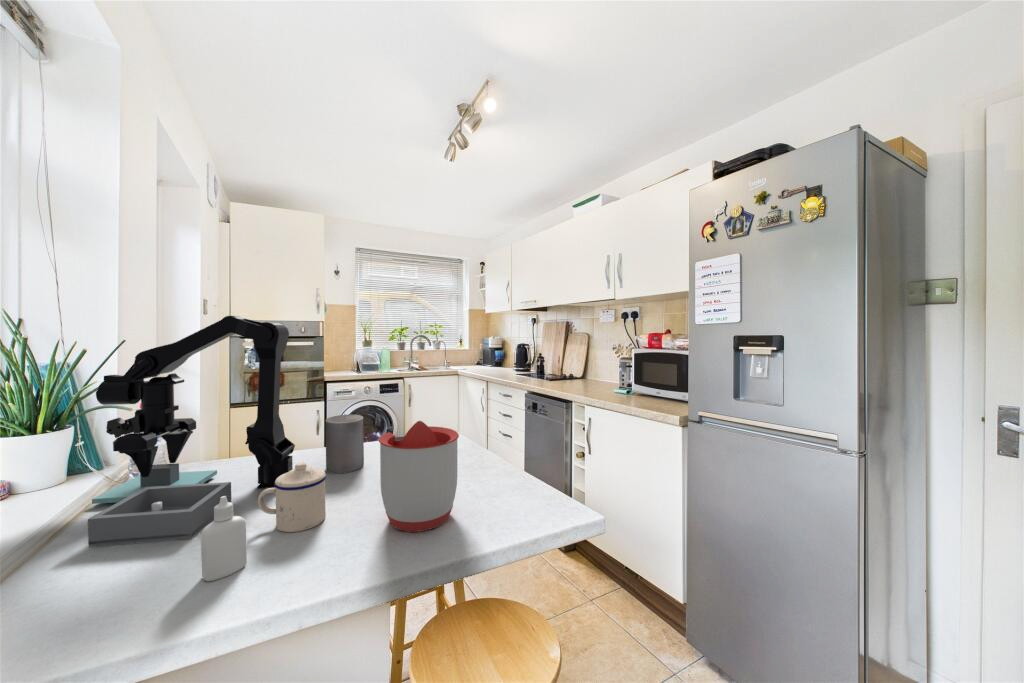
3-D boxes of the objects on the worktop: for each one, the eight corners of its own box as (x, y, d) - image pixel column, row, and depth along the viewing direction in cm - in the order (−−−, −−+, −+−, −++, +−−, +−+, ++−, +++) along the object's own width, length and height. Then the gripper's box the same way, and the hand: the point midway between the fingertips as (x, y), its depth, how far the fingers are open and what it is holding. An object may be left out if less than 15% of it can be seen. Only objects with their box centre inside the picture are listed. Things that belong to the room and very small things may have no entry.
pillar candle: (330, 462, 112) (329, 410, 112) (366, 460, 115) (365, 409, 114) (322, 475, 103) (321, 418, 102) (361, 472, 105) (361, 416, 105)
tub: (231, 504, 86) (231, 482, 85) (192, 538, 72) (191, 511, 72) (146, 510, 83) (145, 487, 82) (88, 547, 69) (87, 519, 69)
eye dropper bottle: (207, 568, 63) (205, 494, 62) (248, 560, 65) (247, 488, 65) (198, 584, 59) (196, 505, 59) (243, 575, 61) (241, 499, 61)
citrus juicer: (427, 493, 92) (427, 408, 91) (474, 519, 80) (474, 420, 79) (361, 515, 81) (360, 418, 80) (404, 549, 69) (403, 435, 68)
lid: (217, 478, 101) (216, 454, 101) (180, 503, 87) (180, 475, 87) (142, 482, 98) (141, 458, 98) (92, 509, 84) (91, 480, 84)
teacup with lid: (330, 508, 84) (329, 454, 83) (322, 529, 75) (321, 469, 75) (266, 516, 80) (265, 459, 80) (250, 539, 72) (249, 476, 71)
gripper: (147, 397, 100) (148, 458, 100) (81, 413, 81) (83, 487, 82) (196, 396, 102) (198, 456, 102) (144, 411, 83) (145, 484, 84)
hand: (159, 469), depth 92 cm, fingers open, 9 cm apart
